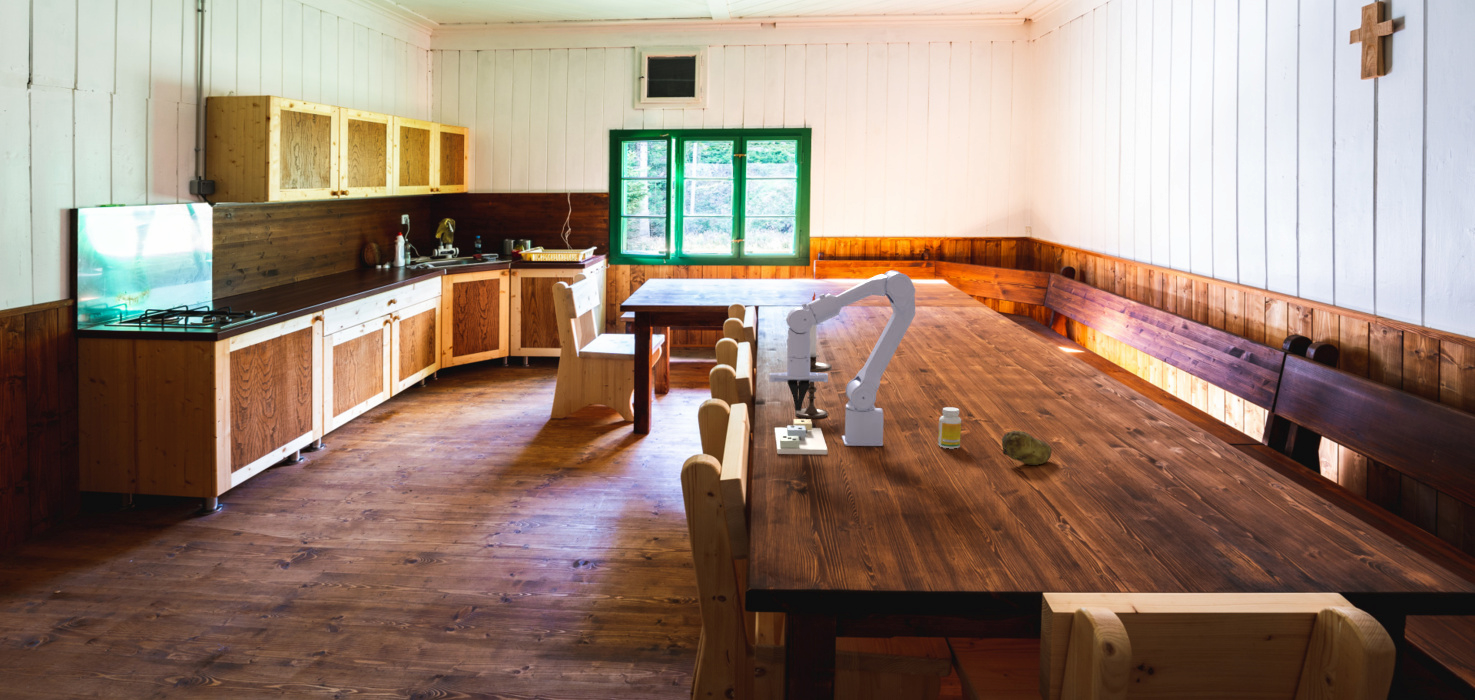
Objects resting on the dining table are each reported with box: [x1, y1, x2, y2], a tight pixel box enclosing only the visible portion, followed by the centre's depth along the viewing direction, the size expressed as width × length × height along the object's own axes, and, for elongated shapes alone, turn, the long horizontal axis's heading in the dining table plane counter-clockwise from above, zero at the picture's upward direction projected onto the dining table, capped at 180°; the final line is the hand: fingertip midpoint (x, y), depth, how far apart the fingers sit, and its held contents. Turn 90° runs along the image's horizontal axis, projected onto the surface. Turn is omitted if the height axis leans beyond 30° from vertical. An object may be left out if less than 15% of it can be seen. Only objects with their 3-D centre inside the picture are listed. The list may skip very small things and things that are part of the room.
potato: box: [1001, 430, 1053, 466], centre depth 207 cm, size 8×13×8 cm, turn 95°
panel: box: [774, 427, 828, 455], centre depth 224 cm, size 12×20×2 cm, turn 0°
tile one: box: [792, 418, 813, 430], centre depth 229 cm, size 4×4×2 cm
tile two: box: [786, 424, 806, 437], centre depth 223 cm, size 4×4×2 cm
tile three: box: [780, 436, 799, 448], centre depth 216 cm, size 4×4×2 cm
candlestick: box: [794, 291, 833, 420], centre depth 249 cm, size 11×11×35 cm
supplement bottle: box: [937, 406, 962, 450], centre depth 221 cm, size 5×5×10 cm
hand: (798, 409), depth 223 cm, fingers closed
